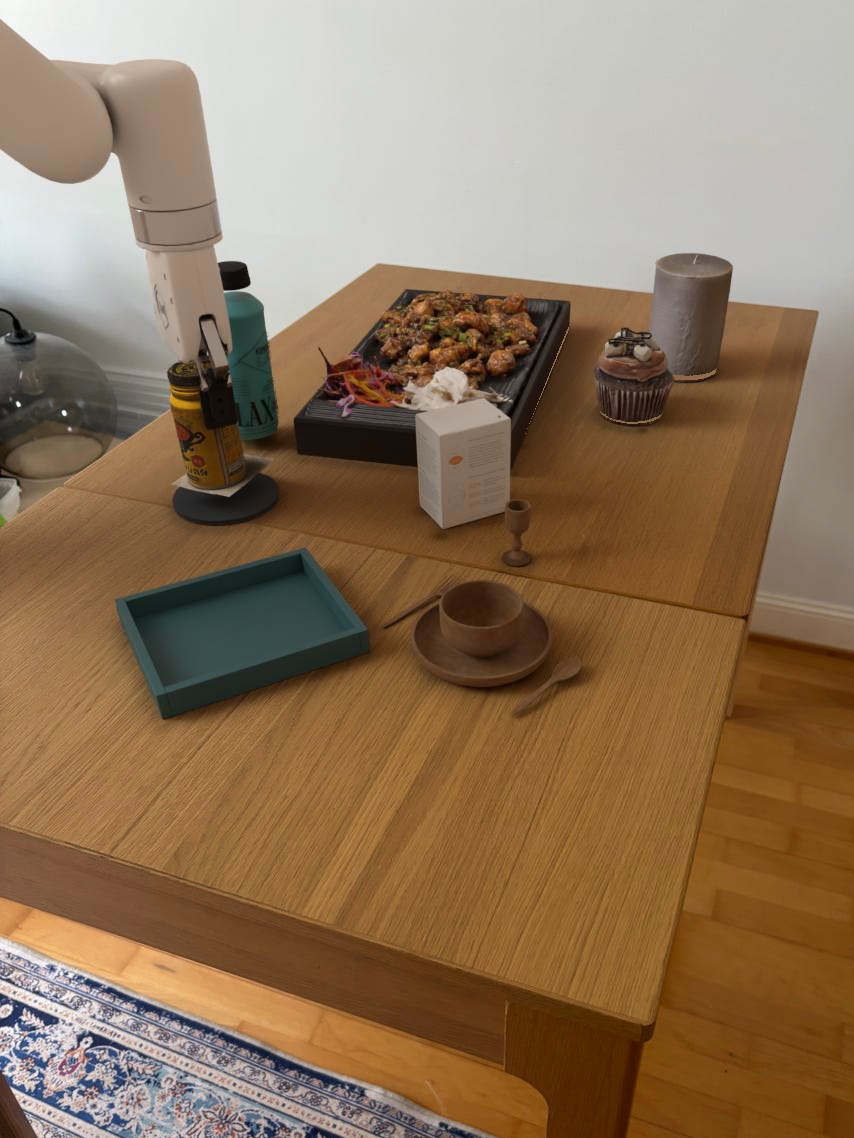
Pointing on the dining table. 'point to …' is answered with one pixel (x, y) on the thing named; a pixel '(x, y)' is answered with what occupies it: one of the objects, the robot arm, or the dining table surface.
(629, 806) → the dining table surface
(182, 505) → the mat
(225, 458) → the condiment
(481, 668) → the place setting
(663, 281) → the pillar candle
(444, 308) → the food platter
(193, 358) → the robot arm
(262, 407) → the beverage bottle
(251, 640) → the tray
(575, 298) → the dining table surface
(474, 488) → the small box
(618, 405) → the cupcake
